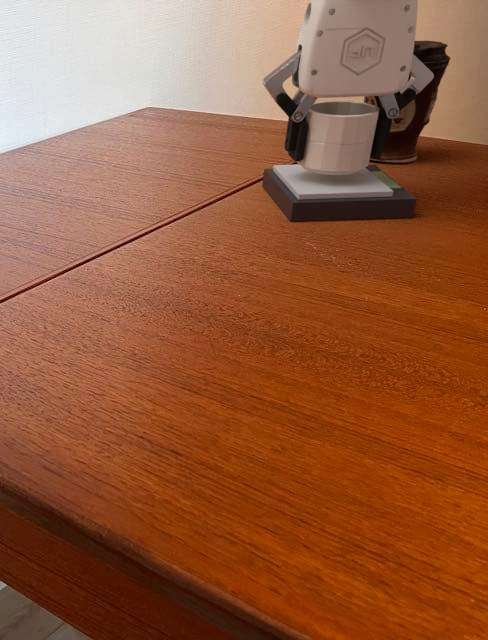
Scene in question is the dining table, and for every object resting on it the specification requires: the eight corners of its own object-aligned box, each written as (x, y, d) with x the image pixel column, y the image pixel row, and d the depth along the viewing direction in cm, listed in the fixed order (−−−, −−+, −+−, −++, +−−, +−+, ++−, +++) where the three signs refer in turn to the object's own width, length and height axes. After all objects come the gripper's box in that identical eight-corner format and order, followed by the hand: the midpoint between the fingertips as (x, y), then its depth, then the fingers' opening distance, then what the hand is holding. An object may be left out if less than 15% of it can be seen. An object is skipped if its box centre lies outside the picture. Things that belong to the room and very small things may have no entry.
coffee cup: (399, 171, 99) (425, 52, 92) (334, 158, 105) (354, 45, 98) (439, 156, 103) (467, 40, 97) (374, 144, 109) (396, 34, 103)
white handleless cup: (354, 156, 93) (365, 99, 90) (377, 175, 87) (390, 114, 84) (288, 158, 94) (296, 101, 90) (306, 177, 88) (316, 117, 84)
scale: (371, 182, 97) (376, 159, 95) (412, 217, 86) (418, 192, 85) (261, 186, 98) (265, 163, 96) (290, 221, 88) (294, 196, 86)
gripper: (282, -25, 78) (256, 169, 87) (482, -35, 77) (434, 164, 86) (262, -32, 84) (240, 150, 94) (447, -42, 83) (405, 144, 92)
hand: (333, 155), depth 90 cm, fingers closed on white handleless cup, 7 cm apart
